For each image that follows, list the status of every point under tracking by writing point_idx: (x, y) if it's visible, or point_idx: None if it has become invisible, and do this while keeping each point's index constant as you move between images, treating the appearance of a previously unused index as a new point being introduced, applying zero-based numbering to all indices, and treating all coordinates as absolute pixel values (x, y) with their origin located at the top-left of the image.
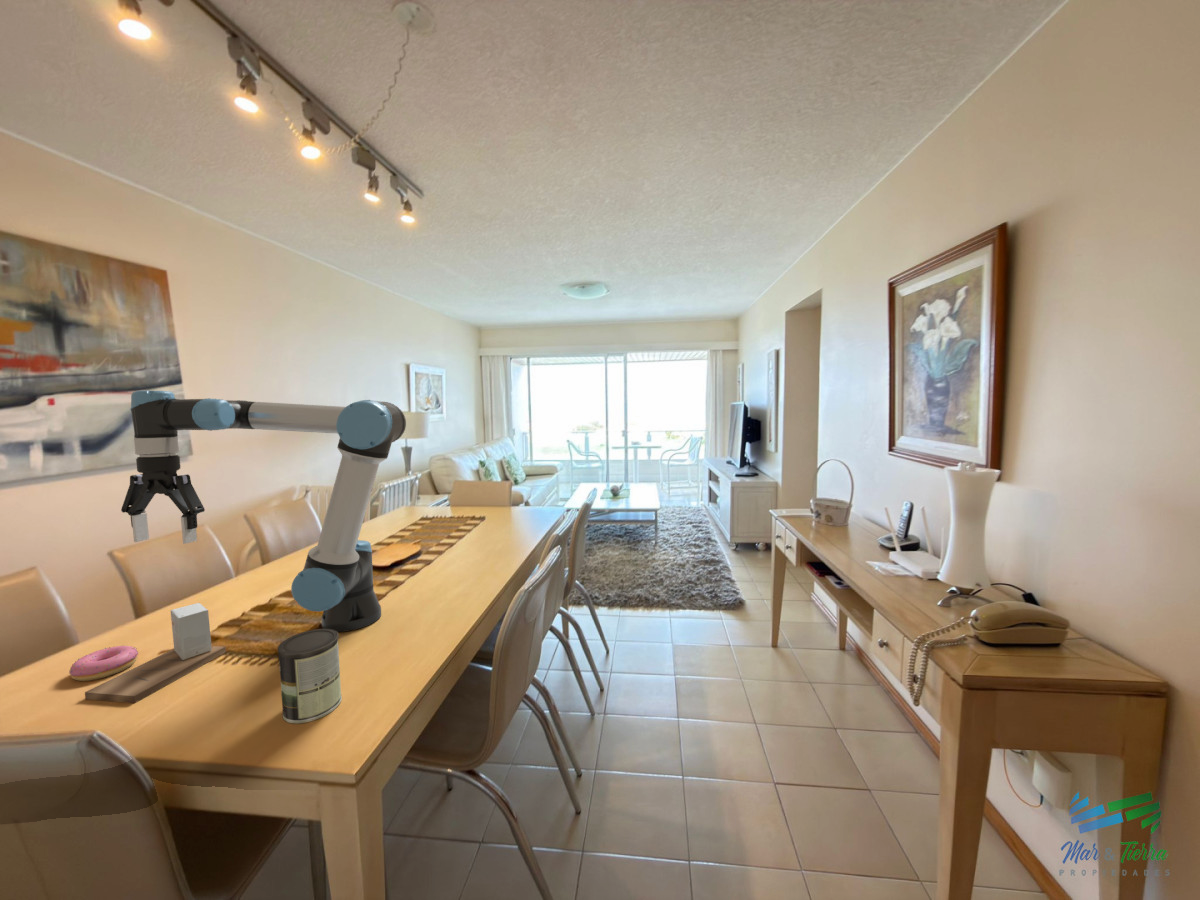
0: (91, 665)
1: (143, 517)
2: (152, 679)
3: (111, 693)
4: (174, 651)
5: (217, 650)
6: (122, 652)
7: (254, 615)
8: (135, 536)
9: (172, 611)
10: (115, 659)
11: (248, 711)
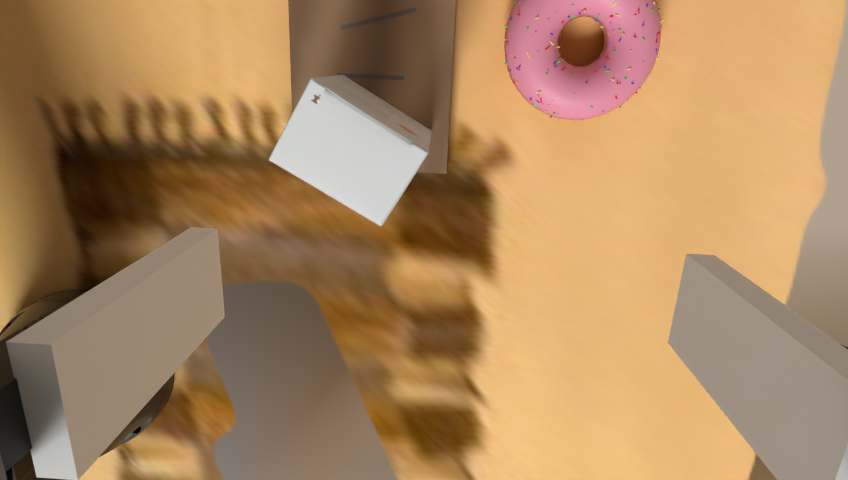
0: None
1: (798, 458)
2: None
3: None
4: (428, 127)
5: None
6: (538, 58)
7: (427, 380)
8: (719, 273)
9: (410, 142)
10: (523, 21)
11: None
